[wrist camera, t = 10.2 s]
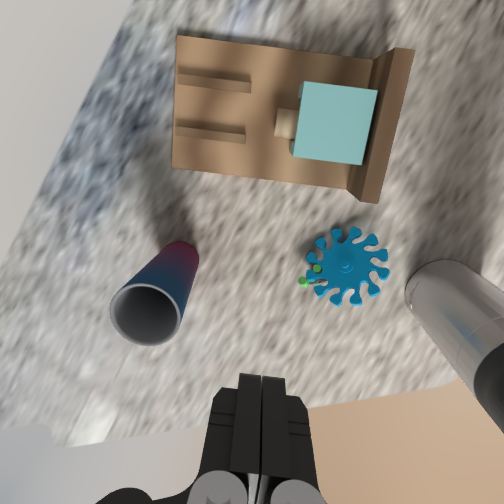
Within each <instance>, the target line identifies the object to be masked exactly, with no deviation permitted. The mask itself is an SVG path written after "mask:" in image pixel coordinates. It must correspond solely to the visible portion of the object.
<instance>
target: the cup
mask: <svg viewBox="0 0 504 504" xmlns="http://www.w3.org/2000/svg"><path fill="white" fill-rule="evenodd" d="M198 264H199V256H198V253H197V251H196V250H195V248H194V247H193V246H191V245H190V244H188V243H186V242H181V241H177V242H172V243H170V244H169V245H167V246H166V247H165V248H164V249H163V250H162V251H161V252H160V253H159V254H158V255H157V256H155V257H154V258H153V259H152V260H151V261H150V262H149V263H148V264H147V265H146V266H145V267H144V268H143V269H142V270H140V271H139V272H138V273H137V274H136V275H135V276H134V277H133V278H132V279H131V280H130V281H129V282H128V283H126V284H125V285H124V286H123V287H122V288H121V289H120V290H119V291H118V292H117V293H116V294H115V296H114V297H113V299H112V301H111V304H110V318H111V321H112V323H113V325H114V327H115V329H116V330H117V331H118V333H120V334H121V335H122V336H123V337H124V338H125V339H127V340H128V341H130V342H133V343H135V344H138V345H142V346H156V345H161V344H163V343H165V342H167V341H169V340H170V339H172V338H173V337H174V335H175V334H176V333H177V331H178V329H179V327H180V323H181V320H182V317H183V314H184V310H185V307H186V304H187V301H188V297H189V294H190V291H191V287H192V284H193V281H194V278H195V274H196V271H197V268H198Z"/></svg>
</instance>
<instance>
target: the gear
mask: <svg viewBox="0 0 504 504" xmlns="http://www.w3.org/2000/svg"><path fill="white" fill-rule="evenodd" d="M331 234H332V236H333V246H332V248H331V249H329V250H326V249H325V248H326V244H327V243H326V240H325V239H324V238H323V237H322V238H319V239H318V240H316V241H315V244H316V246H317V247H318V248H320V249H321V250H322V251H323V254H324V259H323V260H321V261H318V260H317V257H316V255H315V254H314V253H313V252H310V253H309V254H308V256H307V257H306V260H307V262H308V263H310V264H316V265H314V266H313V270H307V272H306V278H305V277H300V278H299V280H298V282H299V284H300V285H301V286H302V287H307V286H308V285H309V284H310V285H313V286H314V285H315V287H314V290H315V293H316V294H317V295H318V297H322V296H324V294H325V293H326V292H327V291H328V290H330V289H332V288H336V287H338V288H340V292H339V293H338V294H335V295H332V296H331V297H330V301H331V302H332V303H333V304H334V305H336V306H340V305H341V303H342V298H343V295H344V294H345V293H346V291H348V290H349V289H351V288H352V289H354V290H355V293H354V294H353V295H352V296H351V297H350V303H351V304H352V305H361V304H362V299H361V297H360V294H359V290H360V286H361V284H362V283H364V282H366V283H368V284H369V287H368V293H369V295H370V296H371V297H373V296H376V295H378V294H379V293H380V289H379V287H378V286H377V285H375V284H374V283H373V282H372V281H371V280H370V277H369V273H370V272H371V271H376V272H377V273H378V276H379V278H380V279H381V280H384V281H385V280H386V279H387V278H388V276H389V274H390V271H389V269H387V268H381V267H377V266H375V265H374V264H372V263H371V262H370V259H371V258H373V257H376V258H378V259H379V260H381V261H383V262H385V261H387V260H388V253H387V249H381V250H379V251H375V252H370V251H365V250H364V247H365V246H367V245H369V246H376V245H377V244H378V239H377V237H376V236H375V235H374V234H370V235H369V236H368V237H367V238H366V239H365V240H364V241H362V242H360V243H357V244H353V243H352V240H353V239H356V238H359V237H360V236H361V234H362V232H361V230H360V229H359V228H356V227H352V228H351V229H350V235H349V237H348V239H347V240H346V241H345V242H344V243H342V244H339V243H338V240H339V239H340V238H341V237H342V235H343V233H342V230H341V229H332V231H331ZM326 282H328V284H327V285H326V286H321V285H320V284H322V283H326Z"/></svg>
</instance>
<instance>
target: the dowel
mask: <svg viewBox="0 0 504 504" xmlns="http://www.w3.org/2000/svg"><path fill="white" fill-rule="evenodd" d="M298 114H299V111H297V110H290V109H283V108H278V112H277V118H276V124H275V132H274V137H281V138H288V139H295V134H296V127H297V121H298Z"/></svg>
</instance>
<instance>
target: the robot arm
mask: <svg viewBox="0 0 504 504" xmlns="http://www.w3.org/2000/svg"><path fill="white" fill-rule="evenodd" d="M405 301H406V304H407V307H408V308H409V310H410V311H411V313H412V314H413V315H414V317H415V318H416V319H417V321H418V322H419V323H420V325H421V326H422V327H423V329H424V330H425V331H426V333H427V334H428V335H429V337H430V338H431V339H432V341H433V342H434V343H435V345H436V346H437V347H438V349H439V350H440V351H441V353H442V354H443V355H444V357H445V358H446V359H447V361H448V362H449V363H450V365H451V366H452V367H453V368H454V370H455V371H456V372H457V374H458V375H459V376H460V378H461V379H462V380H463V382H464V383H465V384H466V386H467V387H468V388H469V390H470V391H471V392H472V393H473V395H474V396H475V397H476V399H477V400H478V401H479V403H480V404H481V405H482V407H483V408H484V409H485V411H486V412H487V413H488V414H489V416H490V417H491V418H492V419H493V421H494V422H495V423H496V424H497V426H498V427H499V428H500V429H501V431H502V432H503V433H504V291H502V290H501V289H499V288H498V287H497V286H495V285H494V284H492V283H491V282H490V281H488V280H487V279H486V278H484V277H483V276H481V275H478V274H476V273H475V272H474V271H472V270H471V269H469V268H468V267H467V266H465V265H464V264H462V263H460V262H457V261H453V260H439V261H435V262H431V263H429V264H427V265H425V266H423V267H422V268H420V269H419V270H418V271H417V272H416V273H415V274H414V275H413V276H412V277H411V279H410V280H409V282H408V284H407V287H406V291H405ZM96 504H327V503H326V501H325V500H324V498H323V497H322V495H321V493H320V490H319V488H318V483H317V476H316V469H315V462H314V454H313V447H312V440H311V433H310V427H309V418H308V411H307V408H306V407H305V405H304V404H303V402H302V400H301V399H300V397H297V396H289V395H286V389H285V379H284V378H278V377H270V376H263V377H262V381H261V375H253V374H244V373H240V375H239V382H238V389H232V388H224V387H222V388H221V389H220V390H219V392H218V393H217V394H216V395H215V397H214V398H213V402H212V407H211V413H210V417H209V422H208V428H207V433H206V438H205V443H204V448H203V453H202V458H201V464H200V469H199V472H198V475H197V477H196V479H195V480H194V482H193V483H192V484H191V485H190V486H189V487H188V488H187V489H186V490H185V491H183V492H181V493H179V494H177V495H175V496H172V497H167V498H163V499H158V500H153V501H152V499H151V498H150V497H149V496H148V494H147V493H145V492H144V491H142V490H140V489H137V488H122V489H119V490H116V491H114V492H111V493H110V494H108V495H107V496H105V497H104V498H103V499H101V500H100V501H98V502H97V503H96Z"/></svg>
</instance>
